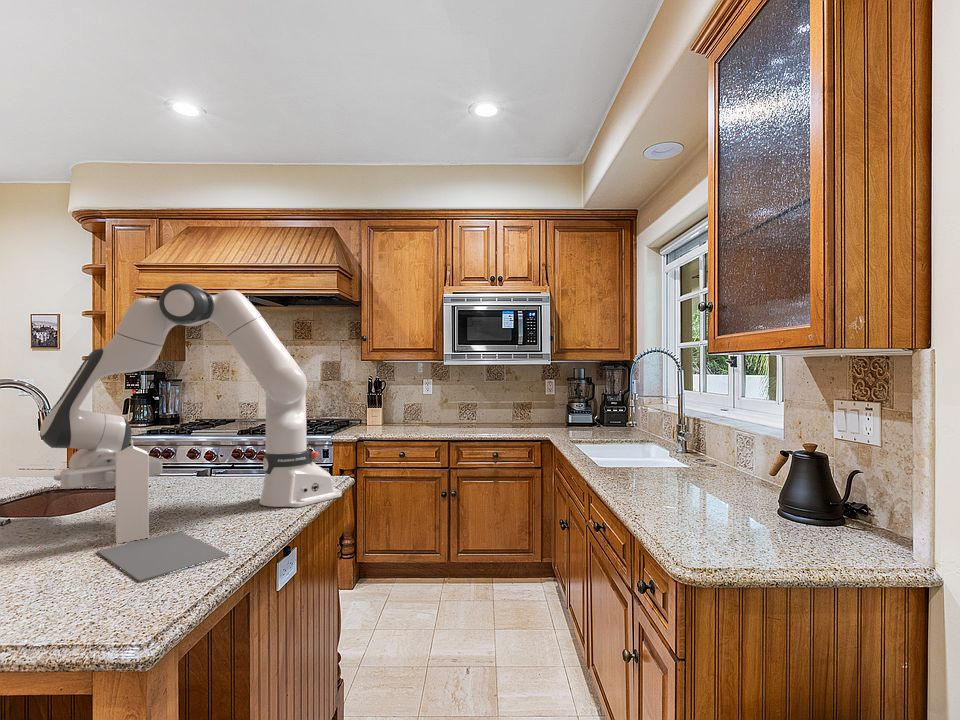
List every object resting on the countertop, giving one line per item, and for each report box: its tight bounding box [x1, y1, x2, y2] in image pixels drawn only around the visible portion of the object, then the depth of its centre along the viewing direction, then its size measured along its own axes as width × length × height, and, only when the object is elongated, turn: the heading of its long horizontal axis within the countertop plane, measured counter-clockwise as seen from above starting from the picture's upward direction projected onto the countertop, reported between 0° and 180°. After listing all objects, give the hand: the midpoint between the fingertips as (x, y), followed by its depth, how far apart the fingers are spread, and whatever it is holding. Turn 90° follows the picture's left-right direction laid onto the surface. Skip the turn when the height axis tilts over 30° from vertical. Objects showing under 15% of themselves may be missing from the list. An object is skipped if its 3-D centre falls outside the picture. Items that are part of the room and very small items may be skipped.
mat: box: [96, 531, 230, 583], centre depth 106 cm, size 24×16×1 cm, turn 52°
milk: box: [114, 438, 150, 544], centre depth 116 cm, size 6×6×22 cm
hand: (124, 476), depth 120 cm, fingers closed
